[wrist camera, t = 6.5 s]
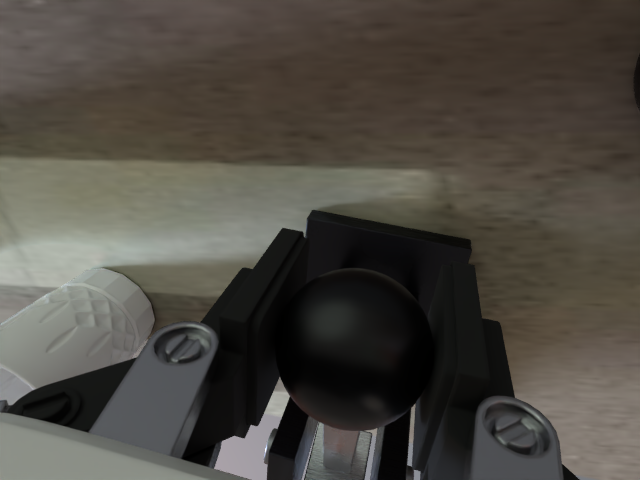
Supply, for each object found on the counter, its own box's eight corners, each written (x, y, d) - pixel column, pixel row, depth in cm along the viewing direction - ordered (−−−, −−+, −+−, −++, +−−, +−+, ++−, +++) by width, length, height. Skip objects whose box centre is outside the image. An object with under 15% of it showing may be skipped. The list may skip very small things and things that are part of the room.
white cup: (136, 255, 30) (16, 353, 21) (178, 344, 33) (87, 461, 25) (51, 264, 33) (-88, 356, 24) (97, 347, 36) (-10, 453, 27)
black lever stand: (312, 209, 25) (213, 363, 14) (470, 239, 24) (497, 437, 13) (298, 360, 31) (220, 552, 20) (424, 392, 30) (416, 618, 19)
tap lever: (298, 223, 9) (240, 367, 7) (456, 254, 9) (442, 419, 7) (310, 423, 20) (288, 504, 18) (381, 443, 20) (368, 529, 18)
